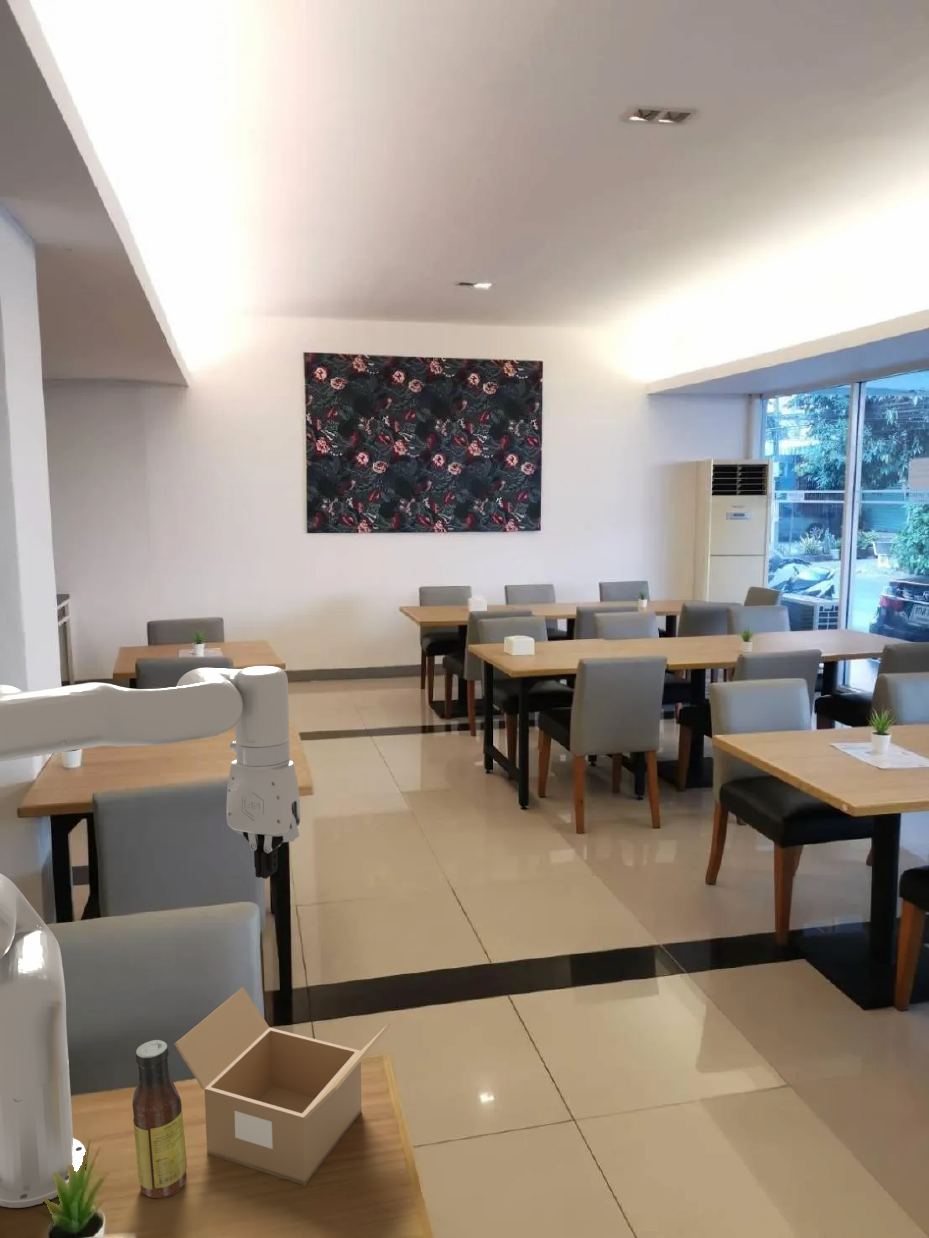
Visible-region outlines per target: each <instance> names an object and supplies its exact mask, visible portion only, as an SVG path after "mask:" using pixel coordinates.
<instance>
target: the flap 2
mask: <svg viewBox="0 0 929 1238" xmlns="http://www.w3.org/2000/svg"><path fill="white" fill-rule="evenodd" d="M391 1025H392V1024H391V1023H390V1022H388V1024H386V1025H385V1026H384V1027H383V1028H382V1029H381V1030H380V1031H379V1032H378V1033H377V1034H376V1035H375V1036H374V1037H373V1038H372V1039H371V1040H370V1041H369V1042H368V1043H367V1044H366V1045H364V1047H363V1048H361V1050H360V1052H359V1053H358V1054H357V1056H356V1057H355V1058H354V1059H353V1060H352V1061H351V1063H350V1064H349V1065H348V1066H347V1067H346V1068H345V1070H344V1071H343V1072H342V1073H341V1074H340V1075H339V1077H338V1078H337V1079H336V1080H335V1081H334V1082H333V1084H332V1085H331V1086H330V1087H329V1088H328V1089H327V1091H326V1092H325V1093H324V1094H323V1095H322V1096H321V1098H320V1099H319V1100H318V1101H317V1102H316V1104H315V1105H314V1106H313V1107H312V1108H311V1109H310V1111H309V1112H308V1113H307V1114H306V1115H305V1116H304V1119H305V1120H306V1119H307V1118H308V1117H309V1116H310V1115H311V1114H312V1113H313V1112H314V1111H315V1110H316V1109H317V1108H318V1107H319V1106H320V1105H321V1104H322V1103H323V1102H324V1101H325V1100H327V1099H328V1098H329V1097H330V1096H331V1095H332V1094H333V1093H334V1092H335V1091H336V1090H337V1089H338V1087H339V1086H340V1085H341V1084H342V1083H343V1081H344V1080H345V1079H346V1078H347V1077H348V1076H349V1074H350V1073H351V1072H352V1071H353V1070H354V1068H355V1067H356V1066H357V1065H358V1064H359V1062H360V1061H361V1062H362V1060H363V1059H365V1057H366V1056H367V1054H368V1053H369V1052H370V1051H371V1050H372V1048H373V1047H374V1046H375V1045H376V1043H377V1042H379V1040H380V1039H381V1037H383V1035H384V1034H385V1032H387V1030H388V1029H389V1028H390V1027H391Z"/></svg>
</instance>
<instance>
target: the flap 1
mask: <svg viewBox="0 0 929 1238" xmlns="http://www.w3.org/2000/svg"><path fill="white" fill-rule="evenodd" d="M269 1027H270V1026H269V1024H268V1023H267V1021H266V1020H265V1019H264V1016H263V1014H261V1012H260V1010H259V1009H258V1007H257V1006H256V1004H255V1003H254V1002H253V1000H252V998H251V996H250V995H249V994H248V992H247V991H246V989H245V988H244V987H243V986H242V987H241V988H240V989H238V990H237V991H236V992H235V993H234V994H232V995H231V996H230V997H229V998H227V1000H225V1001H224V1002H222V1003H221V1004H220V1005H218V1007H217V1008H216V1009H214V1010H213V1011H212V1012H211V1013H209V1014H208V1015H207V1016H206V1017H205V1018H204V1019H202V1020H201V1021H200V1022H199V1023H198V1024H197V1025H195V1026H194V1027H193V1028H191V1029H190V1030H189V1031H188V1032H187V1033H186V1034H185V1035H183V1036H182V1037H181V1038H180V1039H178V1040H177V1041H176V1042H174V1043H173V1045H174V1047H175V1048H176V1050H177V1051H178V1053H179V1054H180V1056H181V1057H182V1060H183V1061H184V1062H185V1064H186V1066H187V1067H188V1069H189V1070H190V1073H192V1075H193V1077H194V1078H195V1080H196V1082H197V1083H198V1085H199V1086H200V1088H201V1089H202V1090H205V1088H206V1087H207V1086H208V1085H209V1084H210V1083H211V1082H212V1081H213V1080H214V1079H215V1078H216V1077H217V1076H218V1075H219V1074H221V1073H222V1072H223V1071H224V1070H225V1069H226V1068H227V1067H228V1066H229V1065H230V1064H231V1063H232V1062H233V1061H234V1060H235V1059H237V1058H238V1057H239V1056H240V1055H241V1054H242V1053H243V1052H244V1051H245V1050H246V1049H247V1048H248V1047H249V1046H250V1045H251V1044H252V1043H254V1042H255V1041H256V1040H257V1039H258V1038H259V1037H260V1036H261V1035H262V1034H263V1033H264V1032H265V1031H266V1030H267V1029H268V1028H269Z"/></svg>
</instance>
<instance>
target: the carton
mask: <svg viewBox="0 0 929 1238" xmlns="http://www.w3.org/2000/svg"><path fill="white" fill-rule="evenodd" d="M360 1051H361V1050H359V1049H356V1048H351V1047H348V1046H344V1045H340V1044H336V1043H331V1042H328V1041H323V1040H320V1039H316V1038H312V1037H308V1036H304V1035H300V1034H296V1033H293V1032H289V1031H284V1030H280V1029H277V1028H274V1027H273V1028H272V1027H270V1026H269V1028H268V1029H267V1030H266V1031H265V1032H264V1033H263V1034H262V1035H261V1036H260V1037H259V1038H258V1039H257V1040H256V1041H255V1042H254V1043H252V1044H251V1045H250V1046H249V1047H248V1048H247V1049H246V1050H245V1051H244V1052H243V1053H242V1054H241V1055H240V1056H239V1057H238V1058H237V1059H235V1060H234V1061H233V1062H232V1063H231V1064H230V1065H229V1066H228V1067H227V1068H226V1069H225V1070H224V1071H223V1072H222V1073H221V1074H219V1075H218V1076H217V1077H216V1078H215V1079H214V1080H213V1081H212V1082H211V1083H210V1084H209V1085H208V1086H207V1087H206V1088H205V1089H204V1105H205V1106H204V1107H205V1109H204V1110H205V1134H206V1154H207V1155H210V1156H213V1157H216V1158H219V1159H222V1160H225V1161H228V1162H231V1163H235V1164H238V1165H240V1166H245V1167H247V1168H250V1169H253V1170H256V1171H259V1172H262V1173H264V1174H269V1175H272V1176H275V1177H277V1178H281V1179H284V1180H287V1181H290V1182H293V1183H297V1184H299V1185H303V1186H306V1185H307V1184H308V1182H309V1181H310V1180H311V1179H312V1177H313V1176H314V1174H315V1173H316V1172H317V1171H318V1169H319V1168H321V1166H322V1164H323V1163H324V1162H325V1160H326V1159H327V1158H328V1156H329V1155H330V1154H331V1152H333V1150H334V1149H335V1147H336V1146H337V1145H338V1144H339V1142H340V1141H341V1140H342V1138H343V1137H344V1136H345V1134H347V1131H349V1129H350V1128H351V1126H352V1125H354V1123H355V1121H356V1120H357V1118H359V1116H360V1115H361V1114H362V1112H363V1111H362V1060H361V1061H360V1062H359V1064H358V1065H357V1066H356V1067H355V1068H354V1070H353V1071H352V1072H351V1073H350V1074H349V1076H348V1077H347V1078H346V1079H345V1080H344V1081H343V1083H342V1084H341V1085H340V1086H339V1087H338V1089H337V1090H336V1091H335V1092H334V1093H333V1094H332V1095H331V1096H330V1097H329V1098H328V1099H327V1100H325V1101H324V1102H323V1103H322V1104H321V1105H320V1106H319V1107H318V1108H317V1109H316V1110H315V1111H314V1112H313V1113H312V1114H311V1115H310V1116H309V1117H308V1118H307V1119H306V1120H305V1119H304V1116H305V1115H306V1114H307V1113H308V1112H309V1111H310V1109H311V1108H312V1107H313V1106H314V1105H315V1104H316V1102H317V1101H318V1100H319V1099H320V1098H321V1096H322V1095H323V1094H324V1093H325V1092H326V1091H327V1089H328V1088H329V1087H330V1086H331V1085H332V1084H333V1082H334V1081H335V1080H336V1079H337V1078H338V1077H339V1075H340V1074H341V1073H342V1072H343V1071H344V1070H345V1068H346V1067H347V1066H348V1065H349V1064H350V1063H351V1061H352V1060H353V1059H354V1058H355V1057H356V1056H357V1054H358V1053H359V1052H360Z"/></svg>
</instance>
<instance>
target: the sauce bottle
mask: <svg viewBox="0 0 929 1238" xmlns="http://www.w3.org/2000/svg"><path fill="white" fill-rule="evenodd" d="M169 1054H170V1053H169V1046H168V1044H167V1043H166V1042H165V1041H163V1040H161V1039H153V1040H150V1041H147V1042H144V1043H142V1044H141V1045H139V1046H138V1047H137V1048H136V1051H135V1061H136V1064H137V1065H138V1075H139V1076H138V1085H137V1086H136V1087H135V1090H134V1092H133V1097H132V1105H131V1106H132V1112H133V1113H132V1114H133V1119H132V1121H133V1131H134V1132H133V1133H134V1144H135V1145H134V1146H135V1152H136V1165H137V1175H138V1183H139V1184H140V1189H141V1192H142V1193H143V1195H145V1196H147V1197H149V1198H153V1199H162V1198H163V1199H164V1198H167V1197H170V1196H172V1195H173V1194H175V1193H177V1192H178V1191H180V1190H181V1189H182V1187H183V1186H184V1185H185V1183H186V1181H187V1168H188V1161H187V1160H188V1159H187V1150H186V1149H187V1148H186V1139H185V1128H184V1116H183V1115H184V1114H183V1105H182V1099H181V1096H180V1094H179V1092H178V1090H177V1088H176V1085H175V1083H174V1081H173V1079H172V1077H171V1074H170V1069H169V1061H168V1060H169V1059H168V1057H169Z"/></svg>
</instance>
